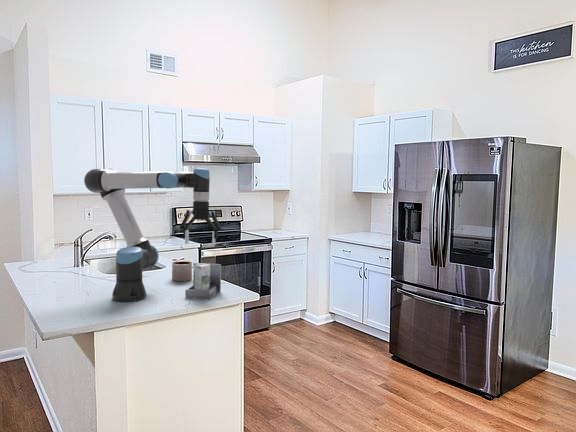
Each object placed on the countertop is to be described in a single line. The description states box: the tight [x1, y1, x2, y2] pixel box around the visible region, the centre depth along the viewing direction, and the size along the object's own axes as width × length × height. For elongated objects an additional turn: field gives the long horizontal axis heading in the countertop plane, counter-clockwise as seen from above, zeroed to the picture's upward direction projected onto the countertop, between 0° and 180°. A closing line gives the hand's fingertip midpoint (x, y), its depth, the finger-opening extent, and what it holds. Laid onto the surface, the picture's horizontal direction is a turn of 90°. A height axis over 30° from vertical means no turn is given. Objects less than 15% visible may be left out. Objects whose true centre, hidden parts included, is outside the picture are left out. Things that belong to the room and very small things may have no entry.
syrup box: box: [192, 262, 210, 291], centre depth 222 cm, size 6×6×14 cm
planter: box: [171, 260, 193, 283], centre depth 254 cm, size 11×11×10 cm
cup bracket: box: [184, 262, 222, 301], centre depth 224 cm, size 14×15×14 cm
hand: (200, 244), depth 222 cm, fingers open, 13 cm apart
